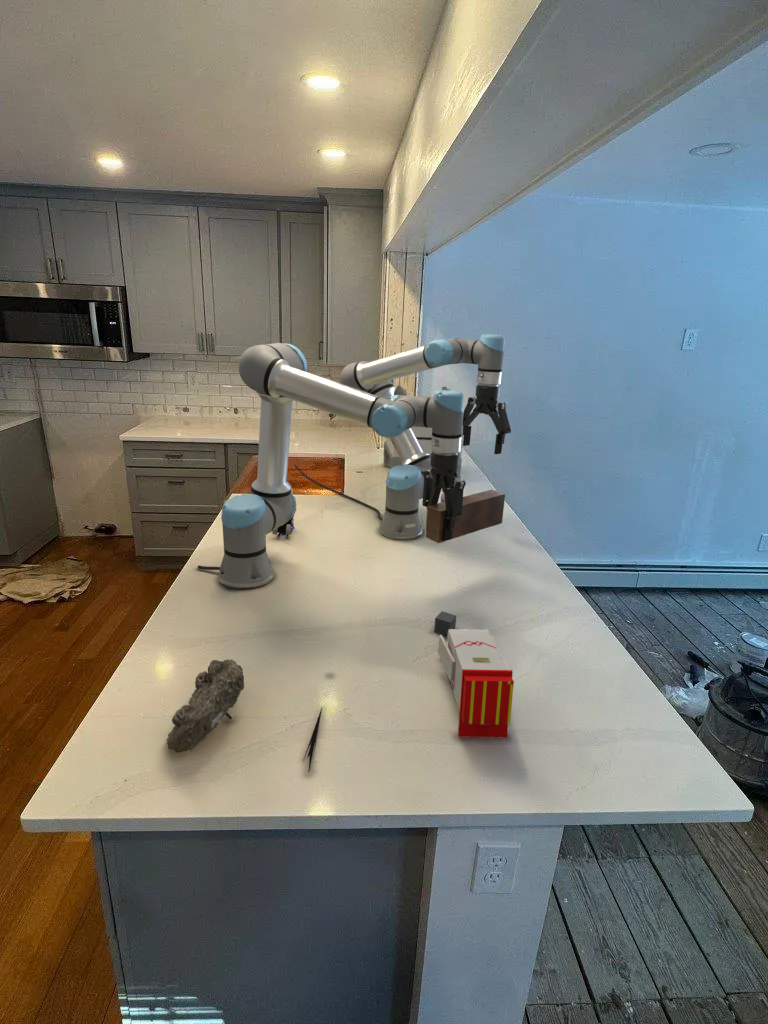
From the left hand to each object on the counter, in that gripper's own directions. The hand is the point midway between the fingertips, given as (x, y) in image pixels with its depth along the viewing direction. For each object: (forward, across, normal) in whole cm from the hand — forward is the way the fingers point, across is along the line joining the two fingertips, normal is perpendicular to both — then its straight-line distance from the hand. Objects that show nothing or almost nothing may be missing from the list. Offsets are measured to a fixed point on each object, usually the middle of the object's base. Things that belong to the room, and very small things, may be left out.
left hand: (439, 536), depth 153 cm
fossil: (+17, +11, -70) cm, 73 cm away
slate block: (+18, +15, -12) cm, 26 cm away
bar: (0, 0, +10) cm, 10 cm away
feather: (+17, +24, -54) cm, 62 cm away
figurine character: (+17, -62, -12) cm, 65 cm away
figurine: (+17, -50, +56) cm, 77 cm away
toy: (+18, +35, -24) cm, 46 cm away
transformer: (+17, -94, +80) cm, 125 cm away
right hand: (-14, -23, +41) cm, 49 cm away
